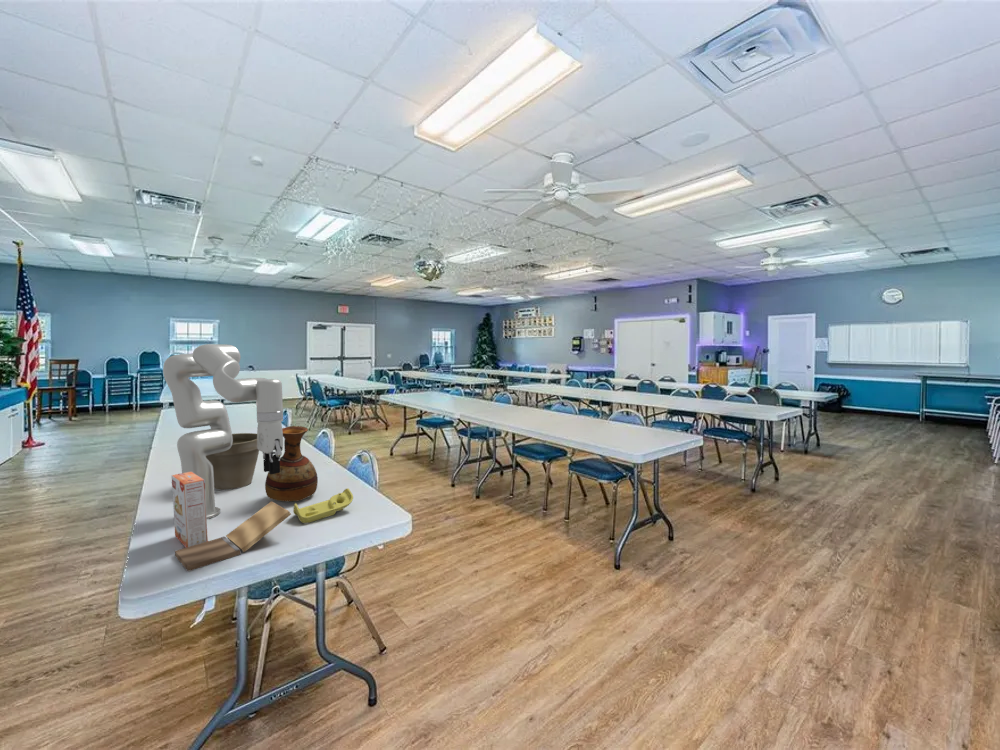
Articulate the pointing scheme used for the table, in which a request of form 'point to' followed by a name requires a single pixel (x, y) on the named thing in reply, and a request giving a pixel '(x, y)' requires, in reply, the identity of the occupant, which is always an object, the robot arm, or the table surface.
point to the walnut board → (206, 553)
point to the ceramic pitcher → (292, 470)
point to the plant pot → (235, 462)
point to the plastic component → (324, 507)
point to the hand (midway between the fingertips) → (271, 471)
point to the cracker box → (189, 508)
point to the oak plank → (258, 526)
